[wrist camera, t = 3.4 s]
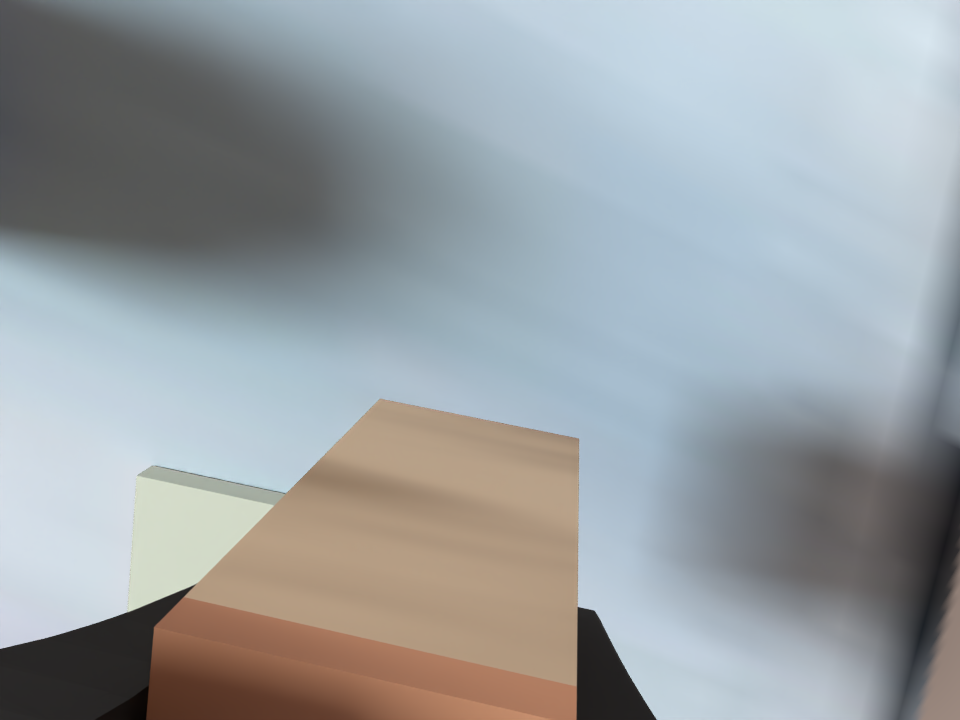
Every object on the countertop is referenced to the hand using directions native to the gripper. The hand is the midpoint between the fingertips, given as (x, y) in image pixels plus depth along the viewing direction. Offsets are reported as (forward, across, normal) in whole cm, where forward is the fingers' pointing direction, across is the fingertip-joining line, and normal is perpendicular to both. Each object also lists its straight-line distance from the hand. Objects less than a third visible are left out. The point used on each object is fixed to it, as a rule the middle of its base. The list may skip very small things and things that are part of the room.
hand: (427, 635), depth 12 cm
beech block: (+2, 0, 0) cm, 3 cm away
